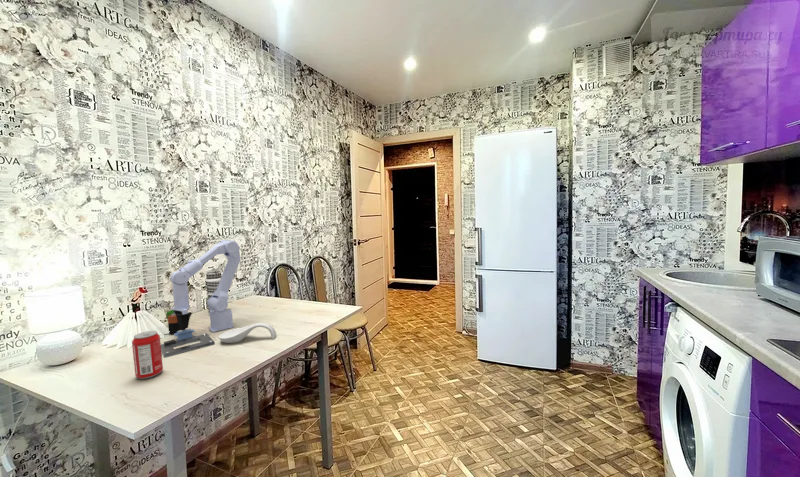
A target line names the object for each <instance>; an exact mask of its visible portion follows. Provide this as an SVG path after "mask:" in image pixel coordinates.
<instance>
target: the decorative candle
mask: <svg viewBox="0 0 800 477" xmlns="http://www.w3.org/2000/svg"><path fill="white" fill-rule="evenodd" d="M205 275H206V279H205V281H204V282H205V284H204V285H205V286H206V287H205V291H206V295H207V300H208V299H209V298H210V297H211V296H212V294H213V293H214V292H215V291H216V289H217V287H218V284H219V282H220V279H221V277H222V271H221V270H220V269H210V270H208V271H207V272H206V273H205ZM207 310H208V316H210V308H209V307H208V308H207Z"/></svg>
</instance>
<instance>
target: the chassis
mask: <svg viewBox="0 0 800 477" xmlns="http://www.w3.org/2000/svg"><path fill="white" fill-rule="evenodd" d="M187 344H188V345H187ZM183 345H184V346H183ZM213 345H215V341H214V339H212V338H211V336H210V335H209V334H208V333H203V334H198V335H195V336H193V337H190V338H186V339H182V340H178V339H177V340H176V339H171V340H167V341H163V343H161V353H162V356H163V358H168V357H172V356H176V355H180V354H184V353H187V352H190V351H194V350H199V349H202V348H206V347H210V346H213ZM179 346H180V347H179ZM175 347H177V348H175Z"/></svg>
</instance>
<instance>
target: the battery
mask: <svg viewBox="0 0 800 477" xmlns="http://www.w3.org/2000/svg"><path fill="white" fill-rule="evenodd" d="M167 325H168V334H171V335H173V336H174V333H177V331H179V330H186V329H187V328H185V329H182V327H181V325H179V323H178V320H177V317H176V315H175V313H172V314H171V315H169V316H168V319H167ZM169 331H170V332H169ZM171 335H170V336H171Z"/></svg>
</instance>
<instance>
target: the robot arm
mask: <svg viewBox="0 0 800 477" xmlns="http://www.w3.org/2000/svg"><path fill="white" fill-rule="evenodd" d="M240 249H241V246H240V245H239V244H238V243H237V241H235V240H227V239H223V240H220V241H219V242H218V243H216V244H214V246H212V247H211V248H210V249H209V250H206V252H205V253H203V254H202V255H201V256H200V257H199V258H198V259H192V260H191V259H190V260H188V261H187V263H186V264H185V265H184V266H181V267H179V268H178V270H175V271H174V272H172V273H171V274H170V277H169V281H170V282H171V283H172V296H173V297H172V298H173V307H171V308H170V309H171V310H173V312H174V313H175V315H176V317H177V320H178V323H179V325H181V327H182V329H185V328H186V329H189V323H190V319H191V316H192V313H193V312H192V311H191V312H189V311H188V310H189V309H190V307H191V306H190V297H189V287H188V282H189V281H190V278H192V277H193V276H195V275H196V274H197V273H198V272H199V271H201V270H202V269H203V265H204V264H206V263H208V262H209V261H210V260H212V259H214V258H215V257H216V256H217V255H224V256H225V257H226V259H227V261H226V264H225V267H224V269H223V272H222V273H221V279H220V282H219V284H218V287H217V289H216V291H215V292H214V293H213V294H212V296H211V297H210V298H209V299H208V298H207V303H206V305H207V307H208V308H210V315H209V317H210V318H209V320H210V326H208V329H209V330H210V332H212V333H214V332H218V331H224V330H227V329H232V328H234V320H233V312H232V309H231V308H228V306H229V305H228V304H229V303H228V302H229V291H230V288H231V285H232V282H233V279H234V277H235V275H236V272H237V269H238V267H239V265H240V261H241V254H240ZM171 310H170V311H171ZM186 329H185V330H186Z"/></svg>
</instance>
